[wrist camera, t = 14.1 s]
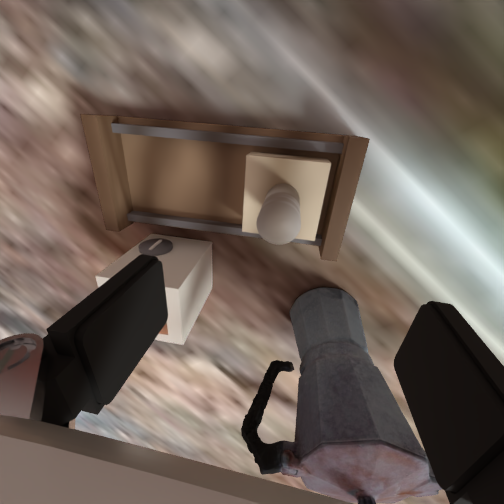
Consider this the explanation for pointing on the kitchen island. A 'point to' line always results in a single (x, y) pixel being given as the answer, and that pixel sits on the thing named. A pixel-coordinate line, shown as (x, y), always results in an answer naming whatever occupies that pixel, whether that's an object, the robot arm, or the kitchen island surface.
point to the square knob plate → (283, 196)
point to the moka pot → (340, 413)
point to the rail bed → (208, 173)
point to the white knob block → (174, 279)
